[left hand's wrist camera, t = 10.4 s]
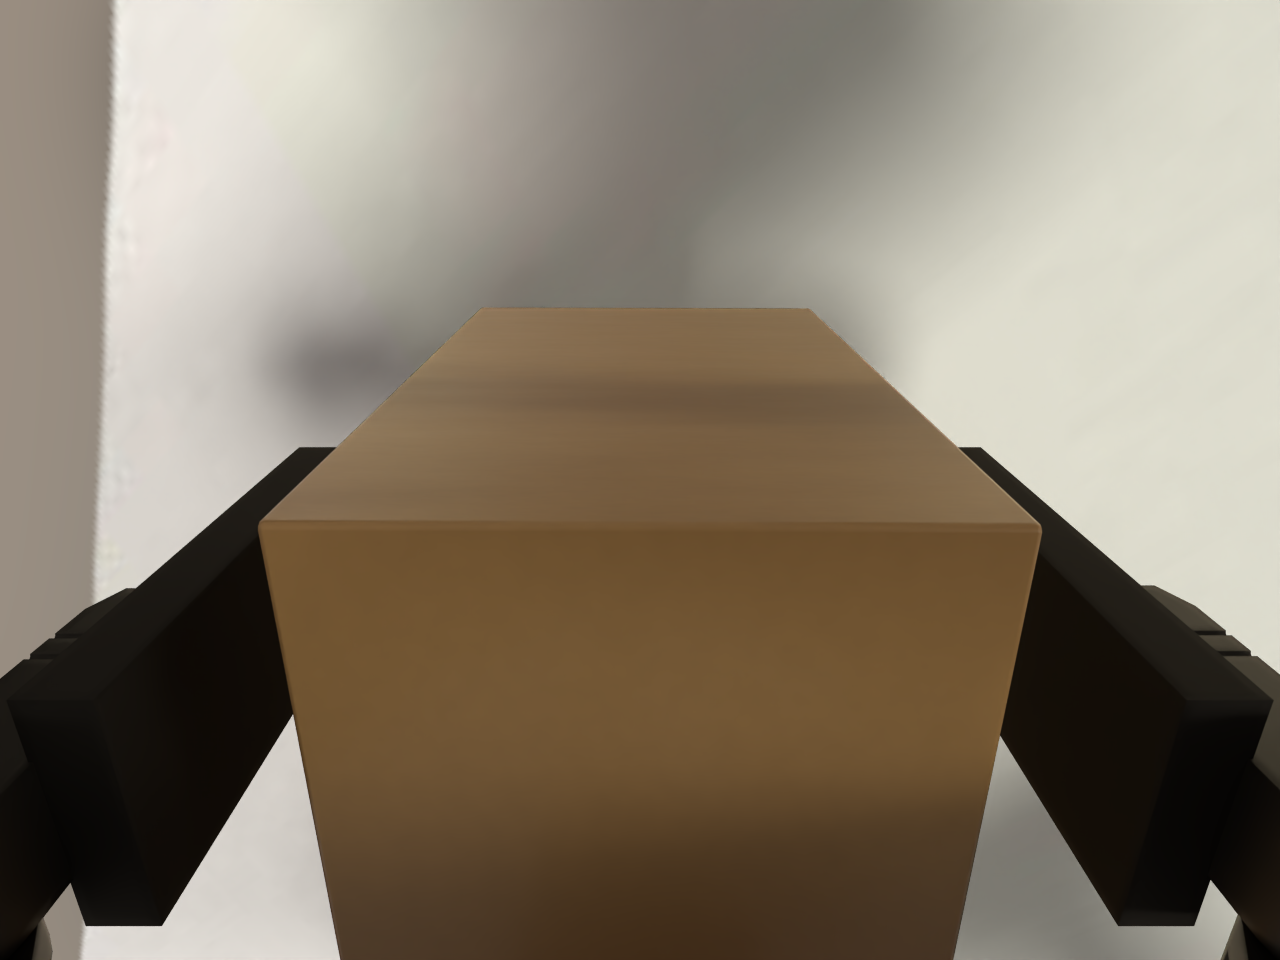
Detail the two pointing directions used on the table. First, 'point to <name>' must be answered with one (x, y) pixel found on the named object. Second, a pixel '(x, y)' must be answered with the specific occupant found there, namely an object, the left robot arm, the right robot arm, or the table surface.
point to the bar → (648, 647)
